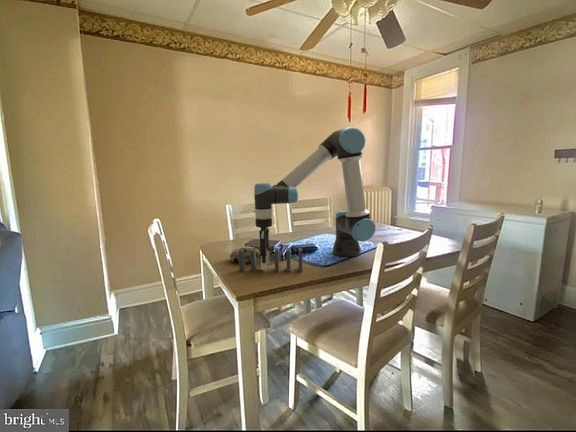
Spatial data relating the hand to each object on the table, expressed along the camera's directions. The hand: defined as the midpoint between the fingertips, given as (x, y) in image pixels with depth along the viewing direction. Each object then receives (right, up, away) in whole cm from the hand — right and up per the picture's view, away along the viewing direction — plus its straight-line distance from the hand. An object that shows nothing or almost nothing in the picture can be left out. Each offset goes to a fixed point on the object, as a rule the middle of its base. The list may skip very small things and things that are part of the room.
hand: (265, 266), depth 142 cm
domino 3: (0, -2, 0) cm, 2 cm away
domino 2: (-5, -2, +1) cm, 6 cm away
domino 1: (-11, -2, +1) cm, 11 cm away
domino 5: (+11, -2, 0) cm, 11 cm away
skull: (-12, 0, +14) cm, 18 cm away
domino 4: (+5, -2, 0) cm, 6 cm away
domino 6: (+16, -2, 0) cm, 16 cm away
